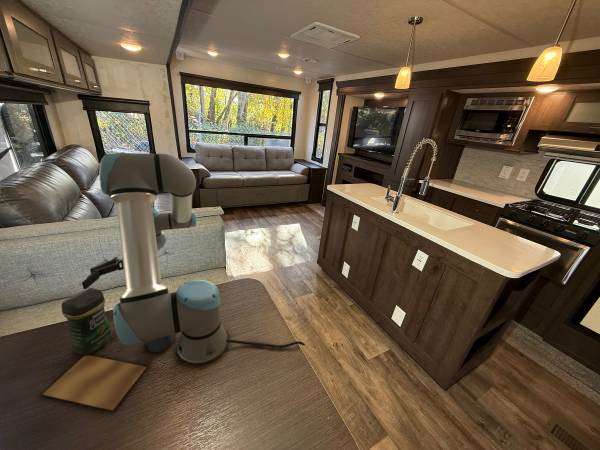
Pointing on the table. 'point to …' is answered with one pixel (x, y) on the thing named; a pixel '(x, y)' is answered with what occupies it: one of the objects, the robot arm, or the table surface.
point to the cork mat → (96, 382)
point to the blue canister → (160, 343)
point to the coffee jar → (87, 321)
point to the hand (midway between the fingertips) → (105, 287)
